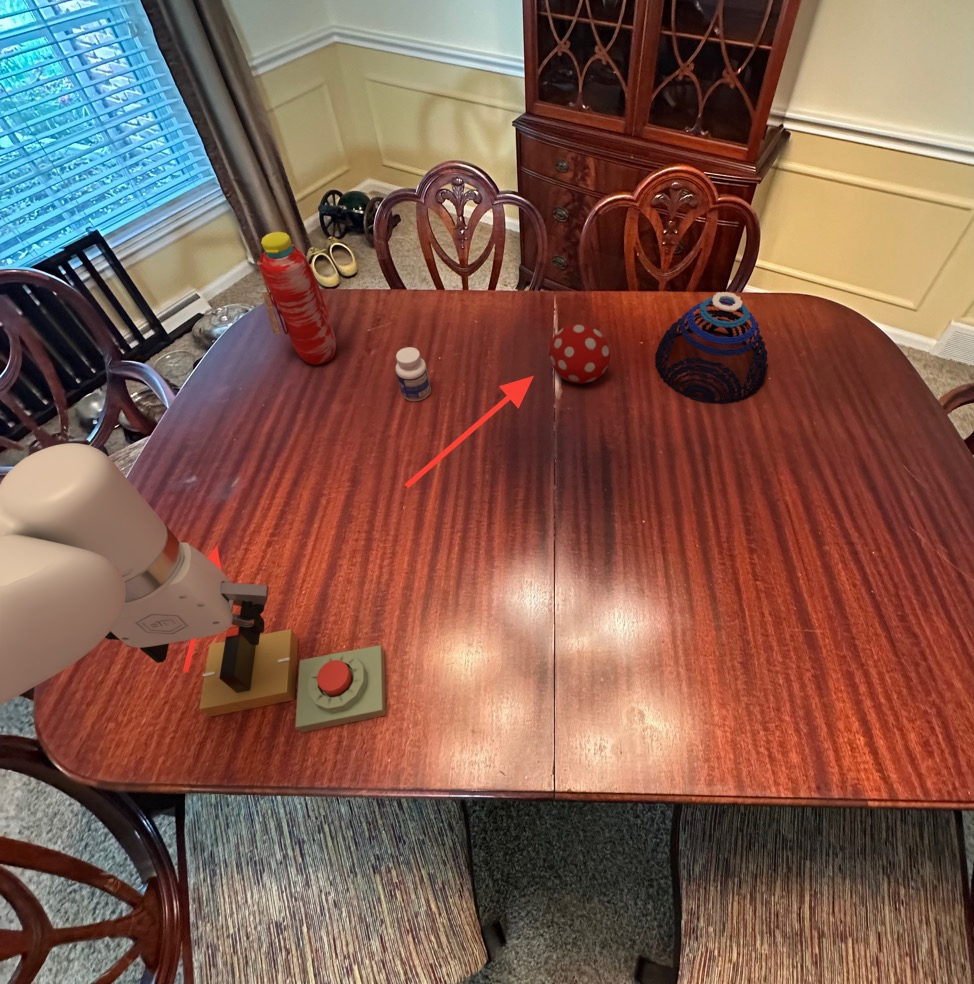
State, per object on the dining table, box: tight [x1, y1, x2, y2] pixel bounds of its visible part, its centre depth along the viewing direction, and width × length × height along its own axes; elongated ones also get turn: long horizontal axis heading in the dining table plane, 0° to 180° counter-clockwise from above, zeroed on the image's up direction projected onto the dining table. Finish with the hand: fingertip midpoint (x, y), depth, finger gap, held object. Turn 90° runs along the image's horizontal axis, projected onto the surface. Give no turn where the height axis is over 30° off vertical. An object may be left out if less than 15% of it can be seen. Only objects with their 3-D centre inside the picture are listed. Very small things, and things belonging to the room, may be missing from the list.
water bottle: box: [256, 231, 337, 366], centre depth 105 cm, size 12×8×25 cm, turn 86°
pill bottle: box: [395, 346, 432, 402], centre depth 105 cm, size 5×5×9 cm
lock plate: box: [198, 628, 300, 718], centre depth 74 cm, size 10×8×3 cm
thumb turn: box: [219, 626, 256, 693], centre depth 71 cm, size 6×2×5 cm, turn 10°
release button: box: [317, 660, 352, 696], centre depth 71 cm, size 4×4×2 cm
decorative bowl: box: [654, 291, 769, 405], centre depth 106 cm, size 20×20×14 cm
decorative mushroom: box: [548, 323, 611, 385], centre depth 109 cm, size 11×11×15 cm
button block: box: [294, 644, 387, 734], centre depth 73 cm, size 10×8×4 cm
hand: (211, 640), depth 66 cm, fingers open, 9 cm apart
